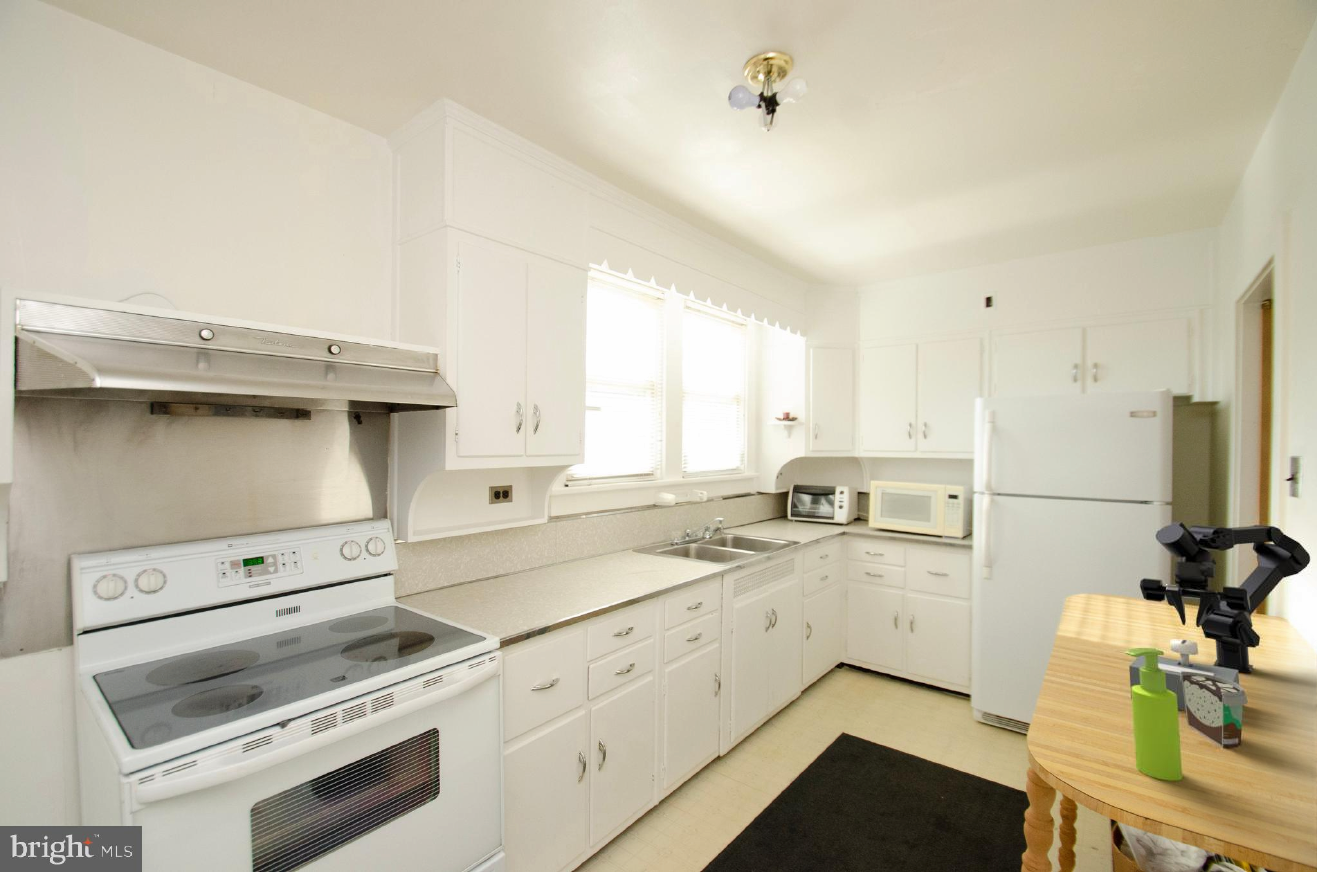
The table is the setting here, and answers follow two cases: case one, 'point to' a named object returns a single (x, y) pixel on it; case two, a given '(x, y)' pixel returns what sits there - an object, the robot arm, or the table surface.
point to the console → (1174, 671)
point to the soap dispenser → (1155, 720)
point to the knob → (1184, 649)
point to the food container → (1214, 707)
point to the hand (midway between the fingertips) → (1190, 625)
